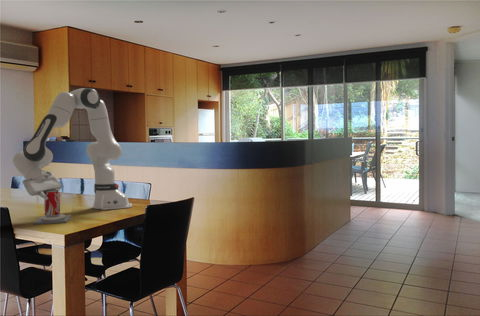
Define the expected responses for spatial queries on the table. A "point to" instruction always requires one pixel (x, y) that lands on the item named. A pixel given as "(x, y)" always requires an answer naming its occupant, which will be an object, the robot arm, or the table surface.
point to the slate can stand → (53, 219)
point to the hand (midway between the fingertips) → (53, 198)
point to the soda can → (52, 203)
